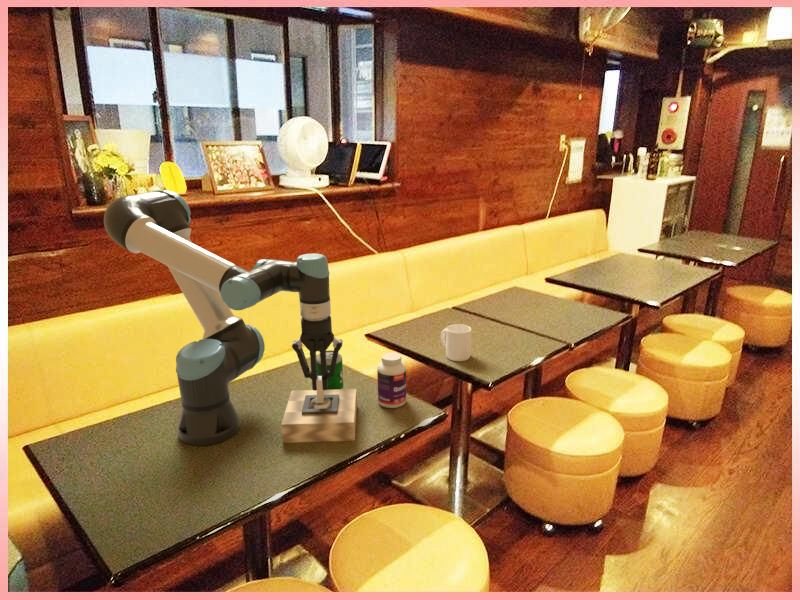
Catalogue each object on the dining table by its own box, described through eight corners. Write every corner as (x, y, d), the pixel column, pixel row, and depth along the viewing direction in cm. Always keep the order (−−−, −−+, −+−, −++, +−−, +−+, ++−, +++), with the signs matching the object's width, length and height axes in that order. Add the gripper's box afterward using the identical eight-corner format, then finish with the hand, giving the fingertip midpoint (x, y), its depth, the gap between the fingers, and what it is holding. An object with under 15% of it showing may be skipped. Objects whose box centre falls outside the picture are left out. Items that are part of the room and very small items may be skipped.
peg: (311, 425, 147) (310, 406, 145) (313, 415, 151) (312, 396, 150) (330, 425, 147) (329, 405, 145) (332, 415, 152) (331, 396, 150)
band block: (282, 442, 140) (281, 421, 139) (292, 407, 158) (291, 388, 156) (354, 440, 141) (353, 419, 139) (356, 405, 158) (356, 386, 156)
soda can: (339, 398, 162) (337, 360, 158) (314, 396, 164) (312, 358, 160) (346, 386, 169) (345, 350, 165) (322, 384, 171) (320, 348, 167)
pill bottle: (396, 412, 154) (395, 364, 150) (372, 405, 158) (371, 358, 154) (411, 400, 161) (411, 354, 156) (388, 393, 165) (387, 348, 160)
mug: (432, 353, 192) (433, 325, 189) (448, 347, 198) (449, 319, 194) (459, 364, 184) (460, 335, 181) (475, 356, 189) (476, 328, 186)
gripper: (287, 321, 136) (294, 408, 143) (341, 320, 136) (345, 406, 144) (291, 311, 143) (297, 394, 150) (342, 310, 144) (346, 393, 151)
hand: (320, 400), depth 147 cm, fingers closed
